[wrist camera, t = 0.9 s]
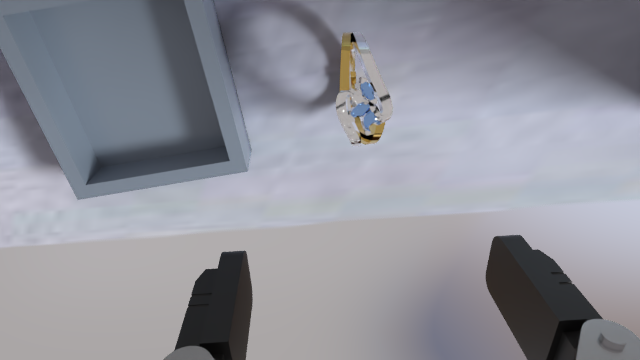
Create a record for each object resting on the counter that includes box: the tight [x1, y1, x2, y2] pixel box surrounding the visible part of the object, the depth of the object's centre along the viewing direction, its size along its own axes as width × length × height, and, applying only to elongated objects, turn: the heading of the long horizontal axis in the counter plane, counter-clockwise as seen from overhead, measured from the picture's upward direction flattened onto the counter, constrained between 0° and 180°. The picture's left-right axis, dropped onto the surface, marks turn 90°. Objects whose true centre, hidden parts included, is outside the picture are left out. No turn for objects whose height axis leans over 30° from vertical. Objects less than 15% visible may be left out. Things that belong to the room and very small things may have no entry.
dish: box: [0, 0, 251, 200], centre depth 27 cm, size 12×13×4 cm
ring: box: [336, 32, 393, 146], centre depth 26 cm, size 7×3×8 cm, turn 1°
